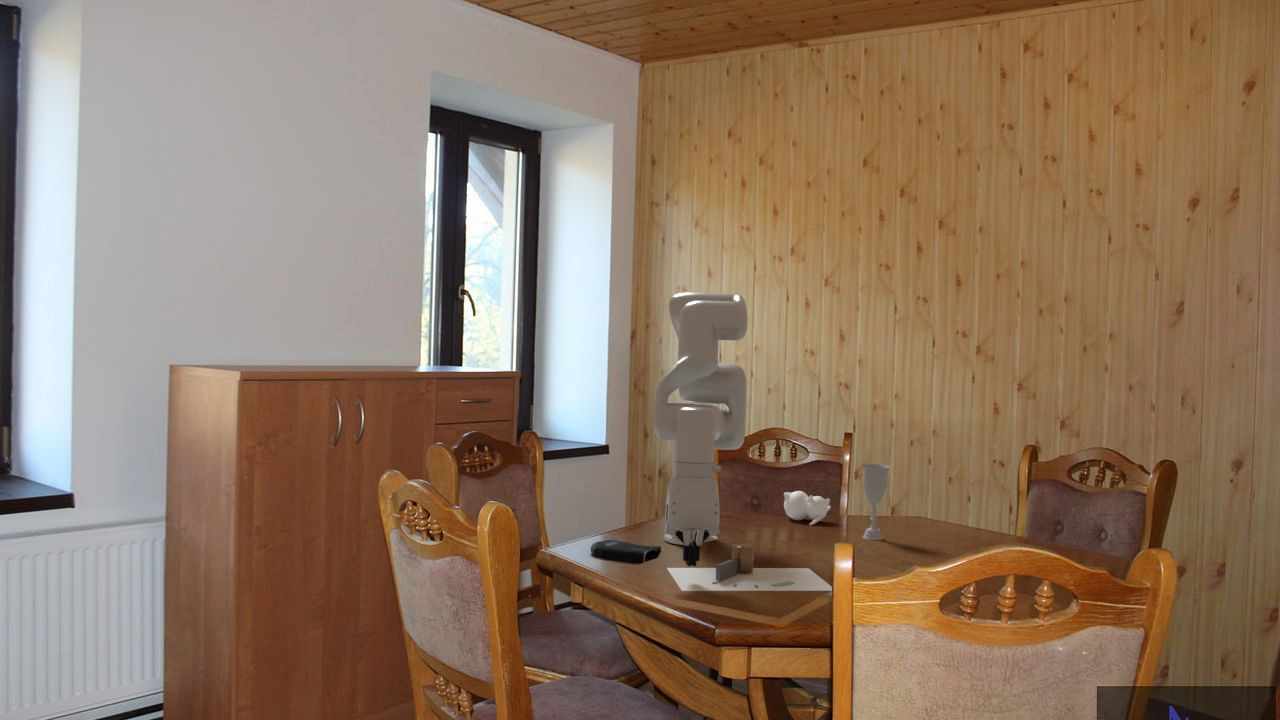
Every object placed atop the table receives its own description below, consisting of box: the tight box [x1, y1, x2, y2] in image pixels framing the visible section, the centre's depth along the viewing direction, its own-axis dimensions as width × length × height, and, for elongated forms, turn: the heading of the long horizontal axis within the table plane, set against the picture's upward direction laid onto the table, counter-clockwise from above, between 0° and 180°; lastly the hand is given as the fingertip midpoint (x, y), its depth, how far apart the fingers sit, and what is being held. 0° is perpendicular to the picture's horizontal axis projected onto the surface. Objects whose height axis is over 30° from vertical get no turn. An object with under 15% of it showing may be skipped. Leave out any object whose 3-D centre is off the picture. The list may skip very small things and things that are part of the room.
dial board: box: [666, 567, 833, 598], centre depth 199 cm, size 18×30×1 cm, turn 98°
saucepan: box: [715, 543, 755, 581], centre depth 201 cm, size 13×4×5 cm, turn 148°
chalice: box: [861, 463, 891, 541], centre depth 250 cm, size 7×7×18 cm
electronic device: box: [590, 539, 662, 563], centre depth 221 cm, size 9×6×15 cm
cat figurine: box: [783, 490, 831, 526], centre depth 270 cm, size 9×11×12 cm
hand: (690, 564), depth 195 cm, fingers closed
